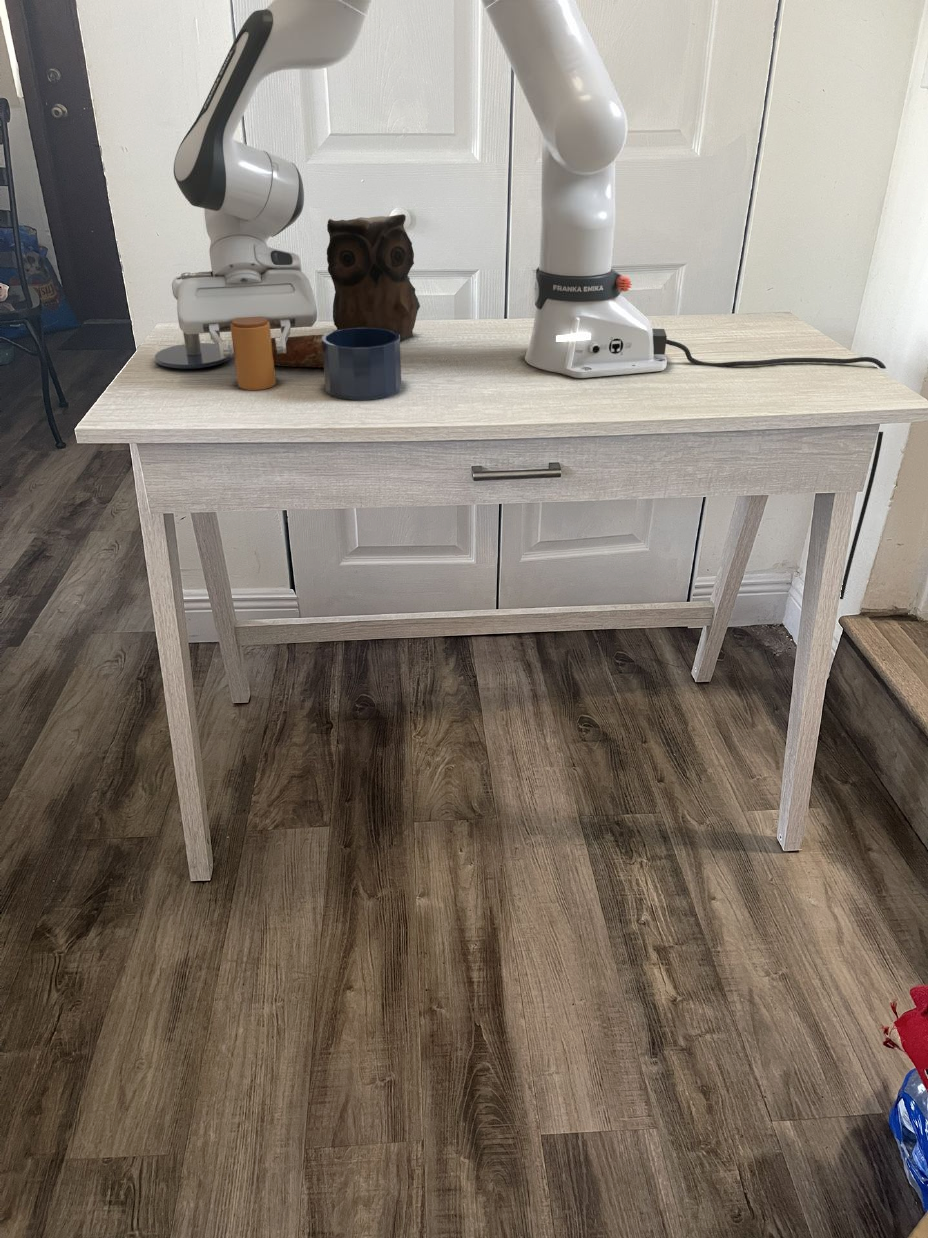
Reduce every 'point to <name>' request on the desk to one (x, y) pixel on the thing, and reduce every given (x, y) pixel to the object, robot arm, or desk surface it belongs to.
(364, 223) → the owl
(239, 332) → the tall brown tube
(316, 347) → the bread
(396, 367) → the pot
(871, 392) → the desk surface
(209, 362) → the pot lid
